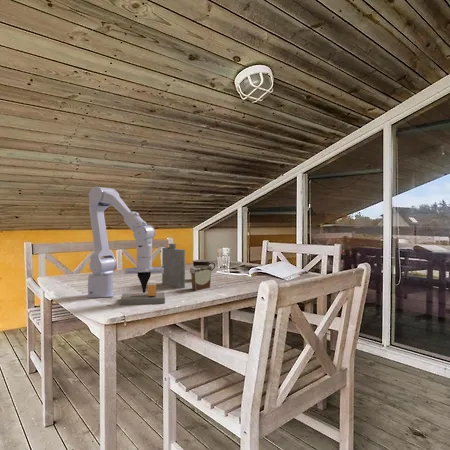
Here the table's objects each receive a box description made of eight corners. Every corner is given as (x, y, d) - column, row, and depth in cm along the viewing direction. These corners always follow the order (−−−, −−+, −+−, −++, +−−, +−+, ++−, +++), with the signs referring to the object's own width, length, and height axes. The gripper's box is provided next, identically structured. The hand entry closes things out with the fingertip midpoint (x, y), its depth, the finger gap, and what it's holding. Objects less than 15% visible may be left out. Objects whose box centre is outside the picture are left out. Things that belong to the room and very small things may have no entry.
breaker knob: (147, 296, 132) (148, 283, 132) (148, 293, 137) (148, 281, 137) (156, 295, 133) (156, 283, 133) (155, 293, 138) (155, 280, 138)
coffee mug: (192, 281, 177) (192, 261, 177) (193, 278, 186) (193, 259, 186) (215, 281, 178) (215, 261, 177) (215, 278, 186) (215, 259, 186)
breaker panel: (120, 305, 128) (120, 299, 128) (122, 298, 138) (122, 293, 138) (164, 303, 131) (164, 297, 131) (163, 297, 141) (163, 292, 141)
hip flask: (186, 287, 161) (186, 244, 161) (179, 288, 158) (179, 244, 158) (166, 282, 173) (166, 242, 172) (159, 283, 170) (159, 242, 169)
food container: (202, 285, 166) (202, 264, 165) (212, 287, 162) (212, 266, 162) (183, 289, 156) (183, 267, 156) (193, 291, 152) (193, 268, 152)
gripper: (124, 258, 129) (123, 295, 129) (164, 257, 132) (163, 293, 132) (125, 256, 135) (125, 291, 136) (163, 255, 139) (162, 289, 139)
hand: (144, 292), depth 134 cm, fingers closed
